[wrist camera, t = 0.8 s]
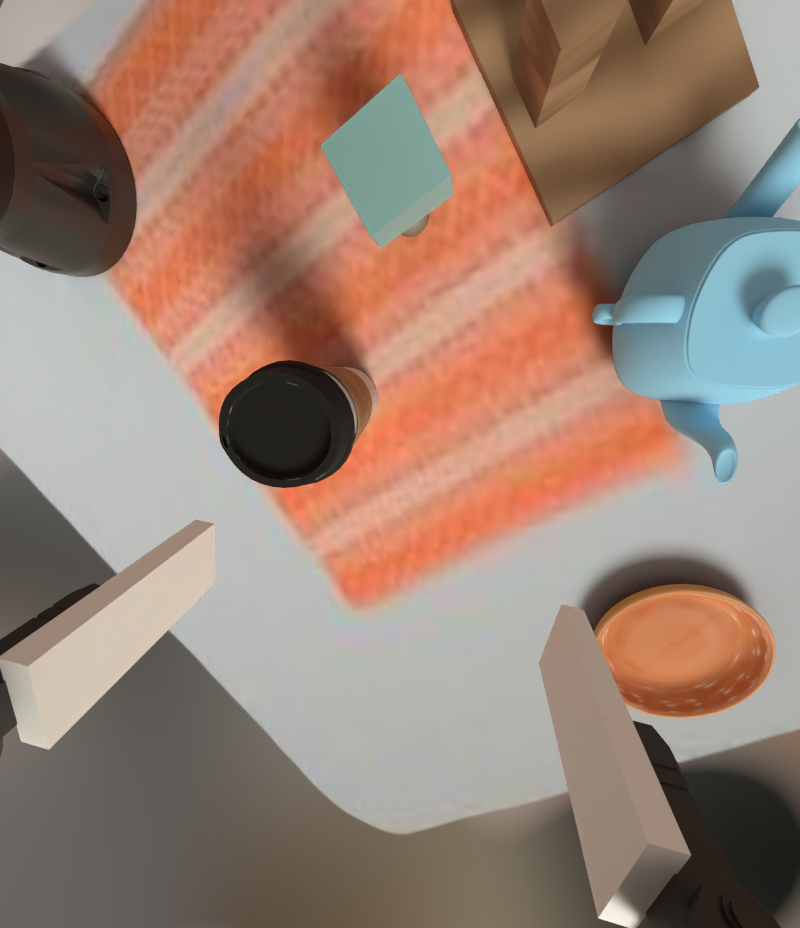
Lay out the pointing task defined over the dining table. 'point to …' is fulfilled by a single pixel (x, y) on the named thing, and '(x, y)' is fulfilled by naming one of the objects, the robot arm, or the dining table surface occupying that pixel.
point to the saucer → (685, 650)
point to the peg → (390, 164)
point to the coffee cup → (295, 421)
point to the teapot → (716, 311)
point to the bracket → (603, 83)
